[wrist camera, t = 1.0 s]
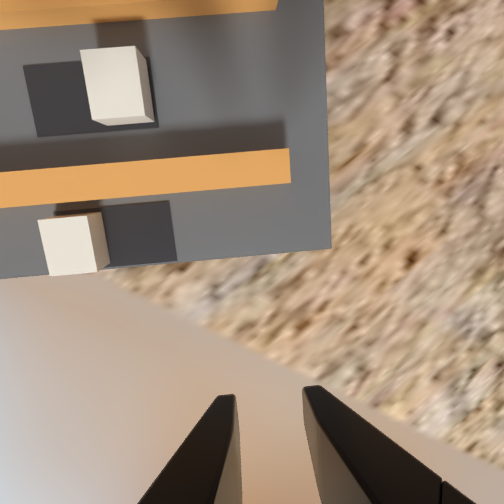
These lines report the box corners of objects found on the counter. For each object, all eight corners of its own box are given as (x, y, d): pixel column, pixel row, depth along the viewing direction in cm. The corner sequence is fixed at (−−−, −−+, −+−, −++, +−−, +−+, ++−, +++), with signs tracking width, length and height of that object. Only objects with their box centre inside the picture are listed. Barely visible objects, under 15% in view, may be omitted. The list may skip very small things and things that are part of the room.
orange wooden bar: (284, 150, 15) (289, 147, 14) (286, 182, 16) (290, 182, 14) (-81, 181, 15) (-112, 181, 14) (-71, 213, 15) (-101, 216, 14)
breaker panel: (303, -76, 16) (330, -173, 12) (317, 237, 19) (341, 255, 15) (-133, -47, 16) (-282, -138, 11) (-43, 270, 19) (-130, 299, 14)
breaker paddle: (146, 60, 14) (135, 45, 12) (154, 121, 15) (145, 115, 13) (97, 64, 14) (79, 49, 12) (107, 125, 15) (92, 119, 13)
